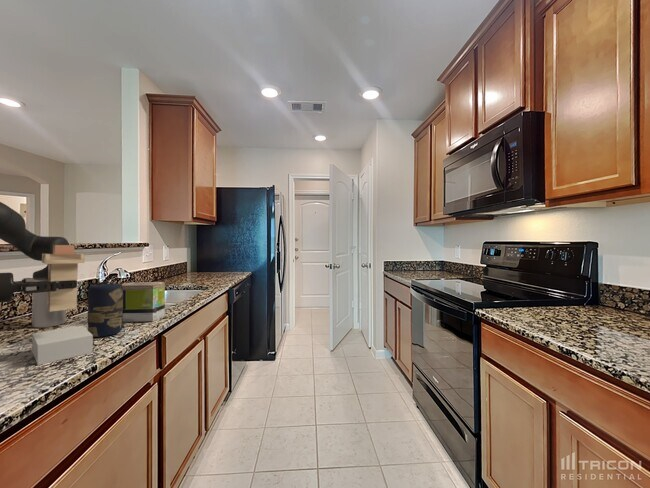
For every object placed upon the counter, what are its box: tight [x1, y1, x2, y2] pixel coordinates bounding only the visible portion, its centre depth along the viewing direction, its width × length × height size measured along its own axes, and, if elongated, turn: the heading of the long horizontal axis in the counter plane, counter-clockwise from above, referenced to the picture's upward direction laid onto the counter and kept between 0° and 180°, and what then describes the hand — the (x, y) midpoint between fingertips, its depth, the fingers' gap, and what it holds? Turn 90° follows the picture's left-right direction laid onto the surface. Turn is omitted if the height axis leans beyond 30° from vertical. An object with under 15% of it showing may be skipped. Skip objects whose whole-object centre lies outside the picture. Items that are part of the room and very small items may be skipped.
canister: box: [87, 281, 124, 338], centre depth 98 cm, size 10×10×18 cm
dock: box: [31, 325, 94, 366], centre depth 81 cm, size 14×11×5 cm
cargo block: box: [53, 244, 75, 254], centre depth 81 cm, size 4×4×4 cm
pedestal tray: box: [41, 253, 86, 312], centre depth 81 cm, size 8×8×16 cm
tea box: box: [121, 281, 166, 323], centre depth 117 cm, size 15×10×15 cm, turn 93°
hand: (74, 282), depth 83 cm, fingers closed on pedestal tray, 5 cm apart
